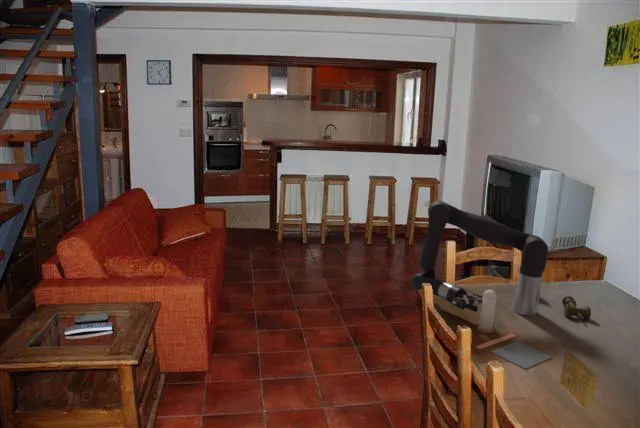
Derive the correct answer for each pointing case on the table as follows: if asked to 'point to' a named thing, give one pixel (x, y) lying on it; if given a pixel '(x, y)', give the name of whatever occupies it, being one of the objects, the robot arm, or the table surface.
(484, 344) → the distance line
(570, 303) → the kendama
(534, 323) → the table surface
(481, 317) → the skittle
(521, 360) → the mat
